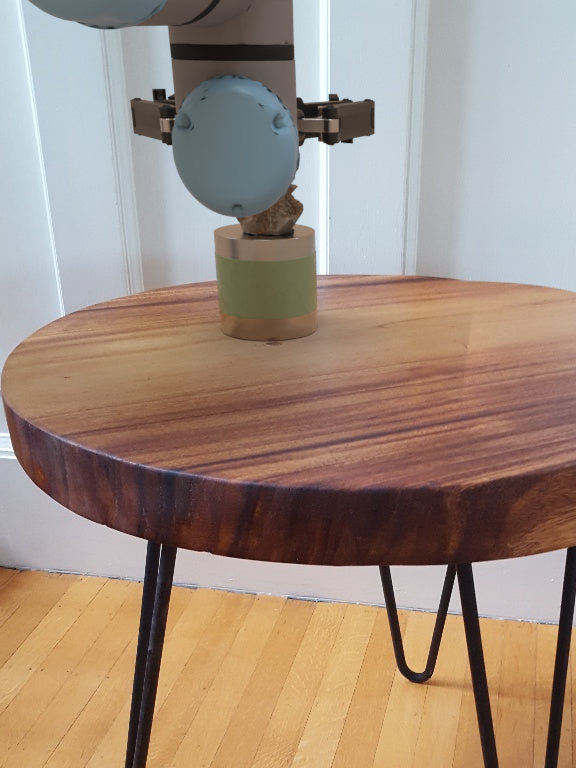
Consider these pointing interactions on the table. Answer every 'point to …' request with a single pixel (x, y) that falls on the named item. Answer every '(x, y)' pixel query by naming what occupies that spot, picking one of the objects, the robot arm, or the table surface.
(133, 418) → the table surface
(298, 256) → the tin can
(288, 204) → the figurine
